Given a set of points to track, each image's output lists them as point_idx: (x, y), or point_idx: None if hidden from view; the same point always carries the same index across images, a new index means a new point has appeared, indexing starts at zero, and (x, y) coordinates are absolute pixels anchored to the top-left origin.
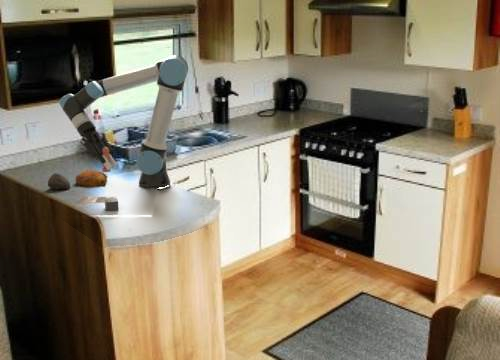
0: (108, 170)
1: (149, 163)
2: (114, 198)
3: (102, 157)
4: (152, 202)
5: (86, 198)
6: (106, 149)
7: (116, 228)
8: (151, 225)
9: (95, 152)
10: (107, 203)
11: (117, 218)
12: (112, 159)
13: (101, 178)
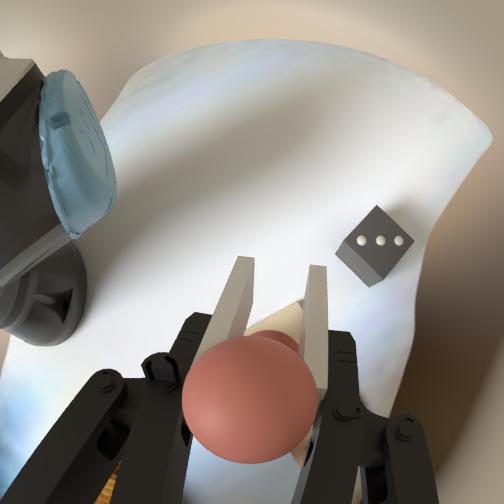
0: (282, 332)
1: (92, 131)
2: (358, 240)
3: (335, 378)
4: (204, 183)
5: (306, 436)
6: (284, 357)
7: (458, 150)
8: (385, 88)
9: (419, 451)
10: (408, 238)
11: (410, 189)
12: (236, 301)
13: (109, 480)
